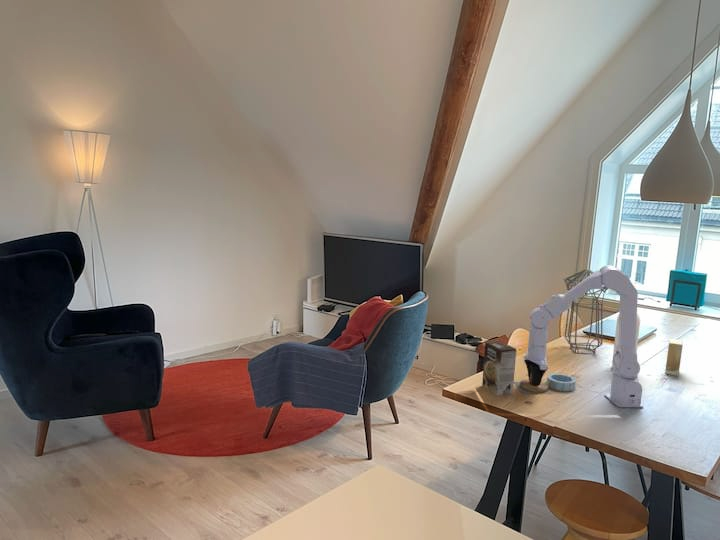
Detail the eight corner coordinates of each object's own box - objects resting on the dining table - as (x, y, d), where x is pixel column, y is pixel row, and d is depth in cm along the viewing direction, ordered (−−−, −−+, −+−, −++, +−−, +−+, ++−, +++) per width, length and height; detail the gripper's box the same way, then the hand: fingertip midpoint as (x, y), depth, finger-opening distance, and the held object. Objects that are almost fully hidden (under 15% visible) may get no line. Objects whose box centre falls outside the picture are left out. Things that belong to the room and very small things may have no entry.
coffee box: (481, 387, 176) (484, 341, 174) (497, 385, 178) (500, 340, 176) (497, 398, 168) (500, 350, 165) (513, 395, 170) (517, 348, 167)
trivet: (552, 395, 170) (552, 393, 170) (522, 395, 170) (522, 393, 170) (541, 384, 180) (541, 382, 180) (513, 383, 180) (513, 381, 180)
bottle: (606, 367, 200) (614, 290, 195) (620, 364, 203) (628, 289, 198) (625, 374, 193) (634, 294, 188) (639, 371, 196) (648, 293, 191)
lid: (552, 393, 171) (553, 378, 170) (525, 392, 171) (526, 377, 170) (542, 382, 180) (543, 368, 179) (516, 382, 180) (517, 367, 179)
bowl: (579, 393, 173) (580, 383, 173) (552, 392, 173) (553, 383, 172) (568, 383, 182) (569, 373, 181) (542, 382, 182) (543, 373, 181)
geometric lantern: (607, 358, 210) (614, 273, 204) (566, 356, 213) (572, 272, 207) (596, 346, 226) (602, 266, 220) (558, 344, 228) (563, 266, 222)
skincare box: (665, 369, 199) (669, 338, 197) (678, 371, 197) (682, 340, 195) (665, 374, 194) (669, 342, 192) (678, 376, 191) (682, 344, 189)
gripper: (518, 337, 180) (515, 375, 182) (533, 350, 166) (529, 391, 168) (538, 338, 180) (535, 375, 182) (554, 351, 166) (551, 391, 168)
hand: (534, 383), depth 175 cm, fingers closed on lid, 3 cm apart
